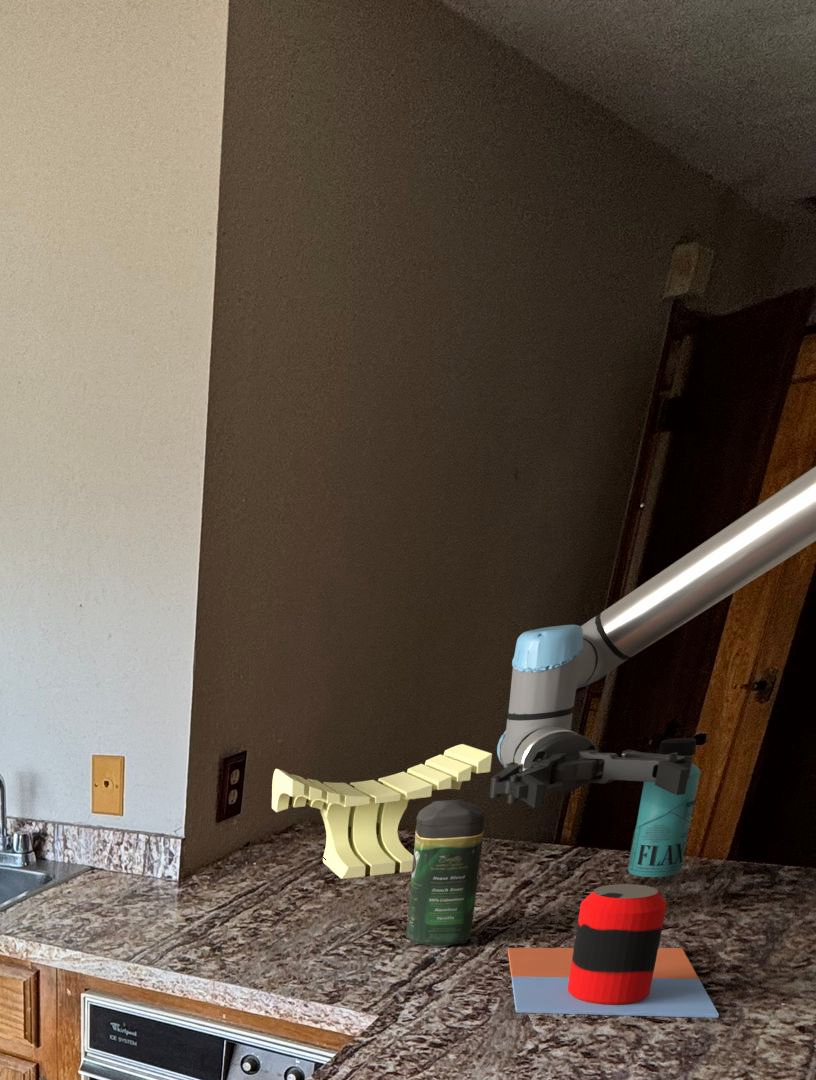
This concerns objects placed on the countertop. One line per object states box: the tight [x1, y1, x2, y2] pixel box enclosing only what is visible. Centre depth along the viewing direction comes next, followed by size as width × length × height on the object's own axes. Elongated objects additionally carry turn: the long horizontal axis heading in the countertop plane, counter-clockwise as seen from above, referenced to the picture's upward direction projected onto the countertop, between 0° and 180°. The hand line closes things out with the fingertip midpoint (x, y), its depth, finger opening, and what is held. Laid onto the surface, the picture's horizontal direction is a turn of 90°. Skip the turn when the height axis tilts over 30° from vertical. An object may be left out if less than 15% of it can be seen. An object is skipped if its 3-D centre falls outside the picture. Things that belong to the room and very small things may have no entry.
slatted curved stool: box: [271, 743, 493, 880], centre depth 172 cm, size 30×16×18 cm, turn 81°
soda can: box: [567, 883, 668, 1005], centre depth 111 cm, size 8×8×12 cm
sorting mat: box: [507, 947, 720, 1019], centre depth 117 cm, size 18×22×1 cm
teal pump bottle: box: [626, 737, 702, 878], centre depth 141 cm, size 6×7×20 cm
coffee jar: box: [406, 799, 485, 948], centre depth 135 cm, size 10×8×19 cm
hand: (609, 789), depth 112 cm, fingers open, 13 cm apart
